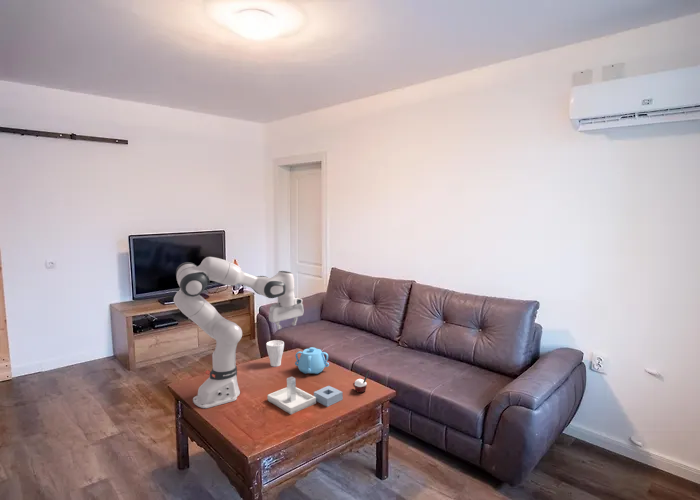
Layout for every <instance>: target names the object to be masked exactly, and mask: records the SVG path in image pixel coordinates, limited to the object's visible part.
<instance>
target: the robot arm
mask: <svg viewBox="0 0 700 500" xmlns="http://www.w3.org/2000/svg"><path fill="white" fill-rule="evenodd" d="M242 270H243V269H242V268H241V266H239V265H237V264H235V263H234V262H232V261H229V260H227V259H224V258H223V259H222V258H219V257H215V256H206V257H205V258H203V259H202V261H201V263H200V264H199V265H197V264H195V263H193V262H189V261H186V262H183V263H181V264H179V265H178V266H177V268H176V270H175V277H176V281H177V284H178V286H179V290H178V291H176V293H175V295H174V297H173V304H175V306H176V307H177V309H178V310H179V311H181V313H182V314H183V315H184V316H185V317H187V318H188V319H189V320H191V322H193V323H194V324H196V325H197V327H199V328H200V330H202V331H203V332H204V333H205V334H207V335H208V336H209V337H210V338H212V339H214V340H215V343H216V344H215V348H214V351H213V352H212V369H211V371H210V370H209V369H207V370H206V371H204V372H205V374H206V375H209V377H208V378H207V379H206V380H205V381H204V382H203V383H202V384H201V385H200V386H199V387H198V390H197V395H196V396H194V397H193V398H192V403H193V404H194V405H196V406H197V407H199V408H201V409H209V408H213V407H217V406H220V405H223V404H227V403H231V402H234V401H237V398H238V396H240V394H241V391H240V387H239V383H238V378H237V377H238V369H237V368H238V367H237V365H236V364H237V363H236V361H237V357H236V352H237V348H238V347H237V346H238V343H239V342H240V341H241V339H242V337H243V330H242V328H241V326H239V325H238V324H237V323H236V322H234V321H231V320H229V319H227V318H225V317H224V316H222V315H221V314H220V312H218V310H217V308H216V307H215V306H213V305H212V304H211V303H210V302H209V301H208V300H206V299H205V298H204V297H203V296H202V295H201V294H202V293H203V292H204V290H205V289H206V288H207V286H209V284H210V281H212V282H215V283H218V284H220V285H224V286H225V285H226V286H230V287H231V286H236V285H242V286H245V287H248V288H250V289H252V290H253V291H254V292H255V293H256V294H258V295H261V296H263V297H264V298H268V299H275V298H277V303H272V304H271V305H270V306H269V314H268V320H269V322H271V323H273V324H274V323H275V325H276V329H277V330H282V329H283V328H282V325H280V323H281V322H282V321H287V320H290V319H293V321H291V326H293V327H294V326H297V322H298V319H299V317H302V316H303V315H304V312H305V311H304V304H303V301H304V300H303V299H302V298H299V297H296V295H295V276H294V274H293V273H292V272H290V271H287V270H279V271H278V272H277V273H276V274H275V275H273V276H271V277H268V276H266V275H258V276H256V275H253V274H250V273H247V272H245V271H242Z"/></svg>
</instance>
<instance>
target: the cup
mask: <svg viewBox="0 0 700 500" xmlns="http://www.w3.org/2000/svg"><path fill="white" fill-rule="evenodd" d="M265 345H266V350H267V355H268V357H269V363H270V366H271V367H273V368H274V367H275V368H276V367H280V366H281V365H282V358H283V354H284V348H285V342H284V341H283V340H277V339H274V340H270V341H267V342H266V344H265Z"/></svg>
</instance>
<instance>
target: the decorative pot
mask: <svg viewBox="0 0 700 500" xmlns="http://www.w3.org/2000/svg"><path fill="white" fill-rule="evenodd" d="M299 354H300V357H298V355H299ZM325 356H326V357H325ZM295 359H296V361H295V362H294V365H295V366H296V367H297V368H298V370H299V371H300V372H301V373H303V374H304V375H305V374H314V375H319V373H322V372H323V370H324V369H325V368H328V367H329V366H330V363H329V362H328V360H329V354H328V353H327V352H326V351H322V349H320V348H316V347H313V346H311V347H308V348H305V349H303V351H297V352H296V353H295Z"/></svg>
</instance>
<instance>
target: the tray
mask: <svg viewBox="0 0 700 500" xmlns="http://www.w3.org/2000/svg"><path fill="white" fill-rule="evenodd" d="M266 397H267V401H268V402H269V403H271V404H273V405H274V406H276V407H278V408H279V409H281V410H283V411H284V412H286V413H288V414H289V415H293V414H296V413H297V412H300V411H302V410H304V409H307V408H309V407H311V406H314V405H315V404H317V401H316V397H314V395H312V394H310V393H309V392H307V391H304V390H303V389H301V388H299V387H297V386H296V400H295V401H292V402H290V401H288V400H287V386H286V387H284V388H281V389H278V390H276V391H274V392H271V393H269V394H267V395H266Z"/></svg>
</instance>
